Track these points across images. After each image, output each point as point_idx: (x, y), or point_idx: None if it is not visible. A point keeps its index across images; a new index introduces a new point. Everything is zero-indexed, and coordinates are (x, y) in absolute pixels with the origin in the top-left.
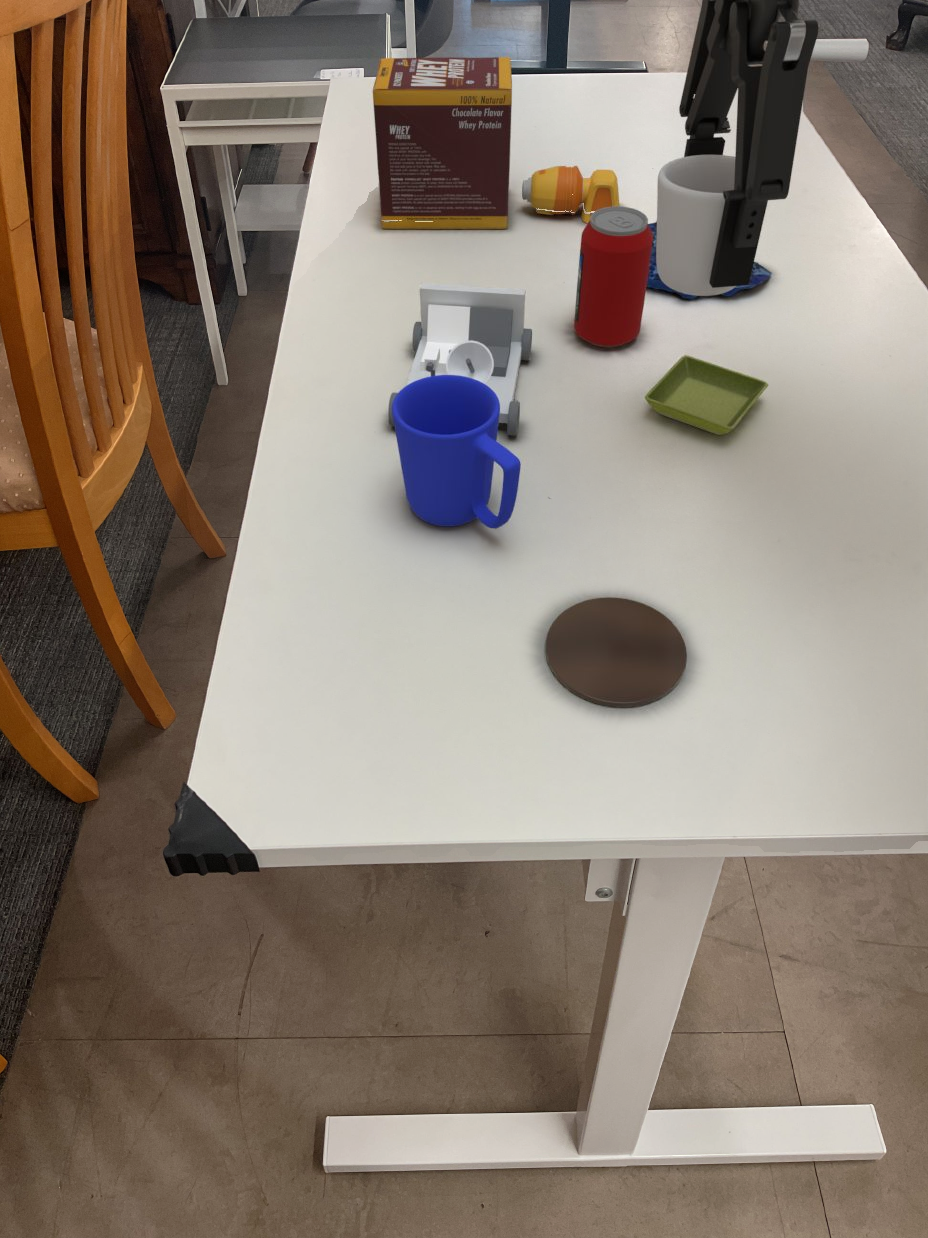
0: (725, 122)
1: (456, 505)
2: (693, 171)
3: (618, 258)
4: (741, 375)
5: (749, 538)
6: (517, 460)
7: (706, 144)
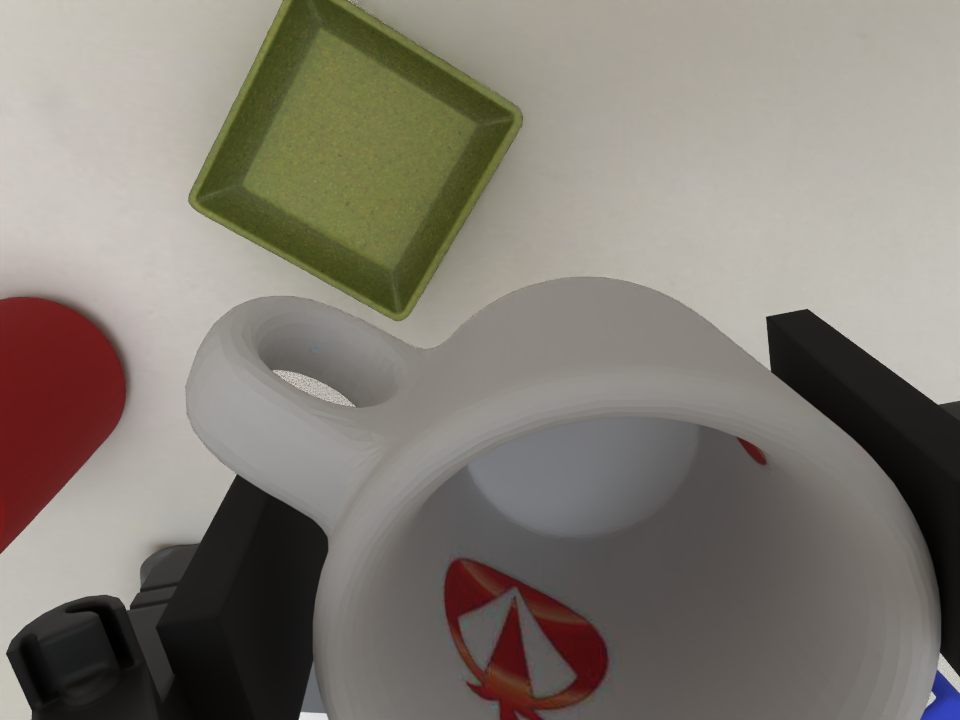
0: (66, 656)
1: None
2: (399, 688)
3: (12, 490)
4: (269, 51)
5: (848, 103)
6: (958, 704)
7: (257, 701)
